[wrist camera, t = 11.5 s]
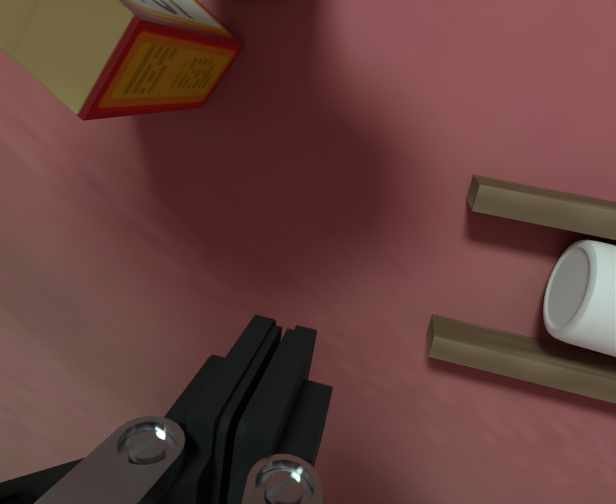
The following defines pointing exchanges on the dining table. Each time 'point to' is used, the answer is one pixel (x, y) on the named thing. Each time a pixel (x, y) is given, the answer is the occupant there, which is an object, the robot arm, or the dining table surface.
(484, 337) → the u rest
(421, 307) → the dining table surface
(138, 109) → the baking soda box
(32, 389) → the dining table surface
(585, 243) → the pill bottle
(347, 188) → the dining table surface
